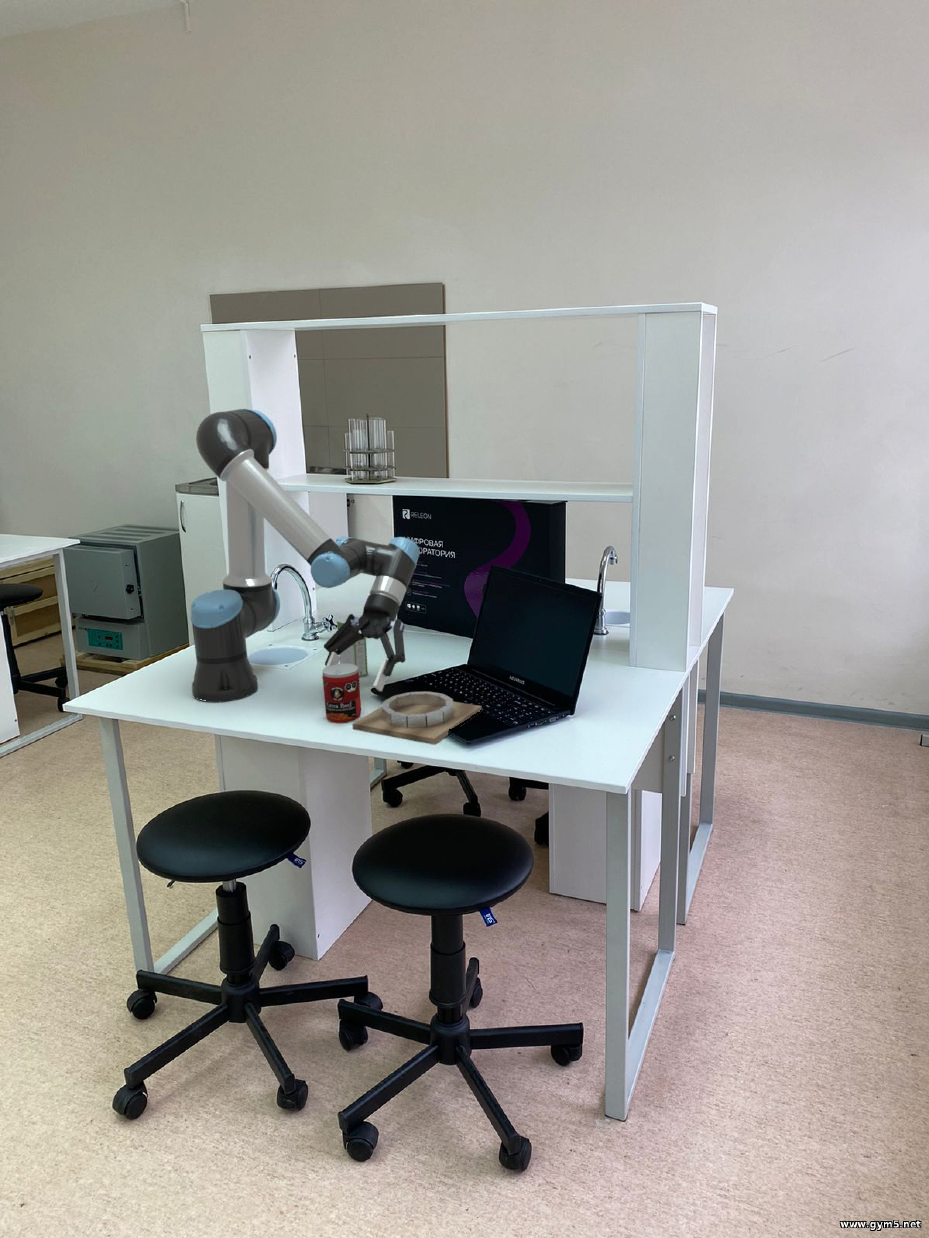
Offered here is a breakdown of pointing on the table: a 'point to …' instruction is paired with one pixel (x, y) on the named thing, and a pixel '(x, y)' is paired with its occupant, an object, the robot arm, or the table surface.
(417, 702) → the collar
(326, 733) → the table surface
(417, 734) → the board
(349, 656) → the ink box
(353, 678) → the canned food
